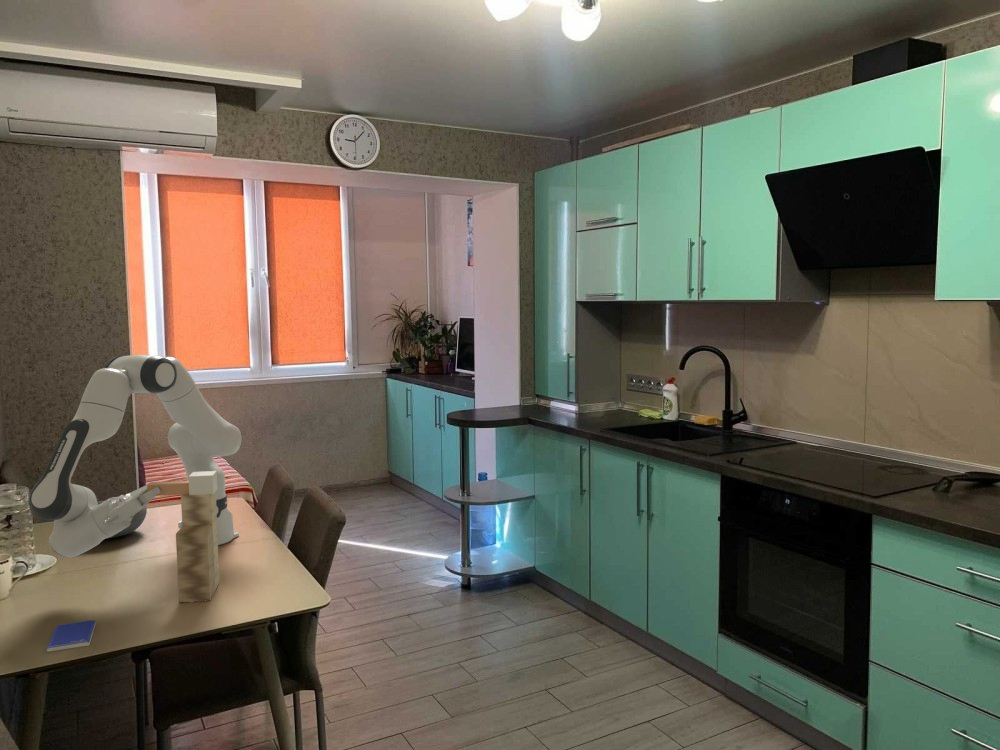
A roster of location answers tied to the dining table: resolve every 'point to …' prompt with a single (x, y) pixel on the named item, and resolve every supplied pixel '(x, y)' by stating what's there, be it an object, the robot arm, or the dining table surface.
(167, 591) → the dining table surface
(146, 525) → the dining table surface
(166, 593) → the dining table surface
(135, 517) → the bowl
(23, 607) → the dining table surface
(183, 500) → the beige tall block
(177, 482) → the hammer
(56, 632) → the hard drive
